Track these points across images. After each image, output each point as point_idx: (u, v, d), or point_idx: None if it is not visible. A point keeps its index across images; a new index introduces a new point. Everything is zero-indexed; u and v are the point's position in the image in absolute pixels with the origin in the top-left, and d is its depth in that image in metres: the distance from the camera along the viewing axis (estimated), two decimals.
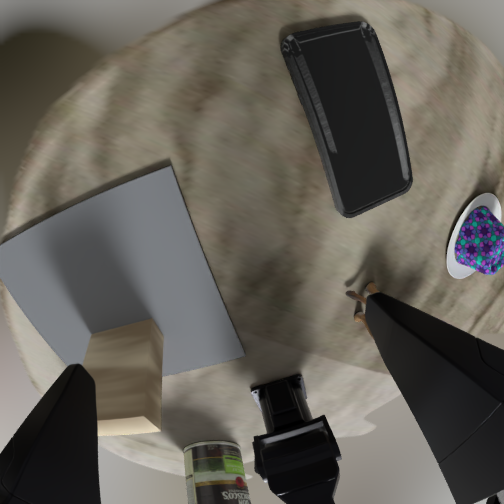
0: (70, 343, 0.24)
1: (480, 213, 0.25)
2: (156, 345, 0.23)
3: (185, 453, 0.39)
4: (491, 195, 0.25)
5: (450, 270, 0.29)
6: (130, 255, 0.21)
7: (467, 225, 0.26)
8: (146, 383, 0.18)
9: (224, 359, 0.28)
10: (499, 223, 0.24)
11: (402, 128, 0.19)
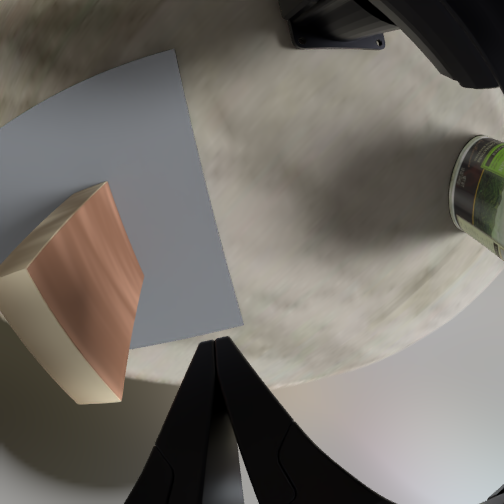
0: (137, 317, 0.20)
1: None
2: (75, 199, 0.13)
3: (463, 229, 0.21)
4: None
5: None
6: (3, 209, 0.14)
7: None
8: (19, 245, 0.09)
9: (174, 84, 0.13)
10: None
11: None
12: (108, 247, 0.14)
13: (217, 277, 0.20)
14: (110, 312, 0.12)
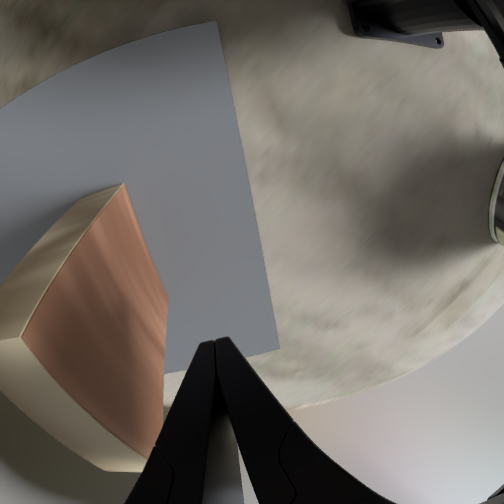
0: None
1: None
2: (84, 206, 0.10)
3: (500, 241, 0.19)
4: None
5: None
6: None
7: None
8: (8, 277, 0.06)
9: (216, 63, 0.10)
10: None
11: None
12: (130, 271, 0.11)
13: (256, 299, 0.17)
14: (139, 360, 0.09)
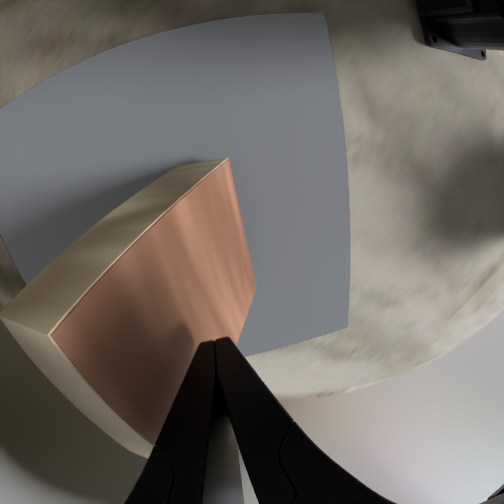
0: None
1: None
2: (177, 178, 0.10)
3: None
4: None
5: None
6: (55, 185, 0.12)
7: None
8: (69, 247, 0.07)
9: (325, 51, 0.11)
10: None
11: None
12: (216, 257, 0.10)
13: (337, 276, 0.17)
14: None
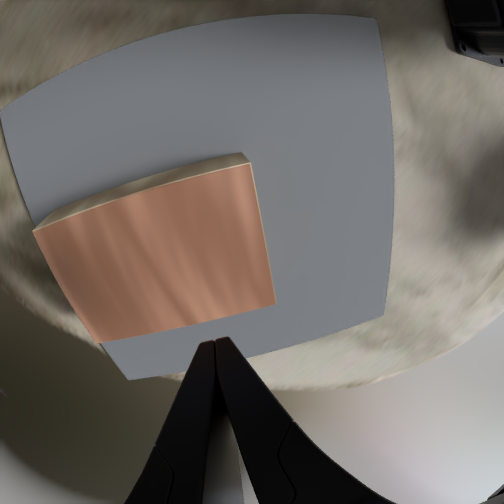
0: (282, 315, 0.18)
1: None
2: (192, 169, 0.11)
3: None
4: None
5: None
6: (105, 167, 0.12)
7: None
8: (97, 193, 0.12)
9: (377, 54, 0.11)
10: None
11: None
12: (181, 248, 0.12)
13: (380, 264, 0.17)
14: (134, 300, 0.12)
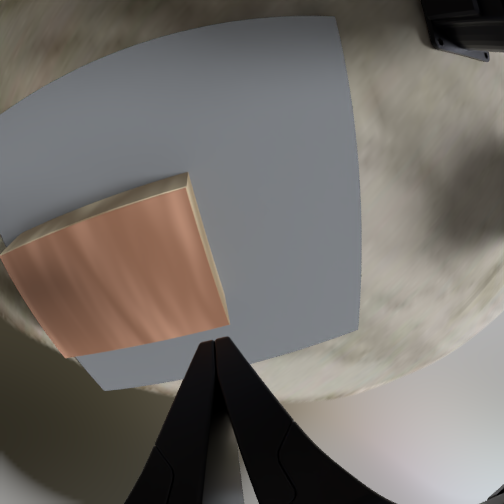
0: (246, 331, 0.18)
1: None
2: (135, 193, 0.11)
3: None
4: None
5: None
6: (62, 192, 0.11)
7: None
8: (57, 217, 0.12)
9: (336, 55, 0.11)
10: None
11: None
12: (128, 272, 0.11)
13: (349, 279, 0.17)
14: (92, 319, 0.12)
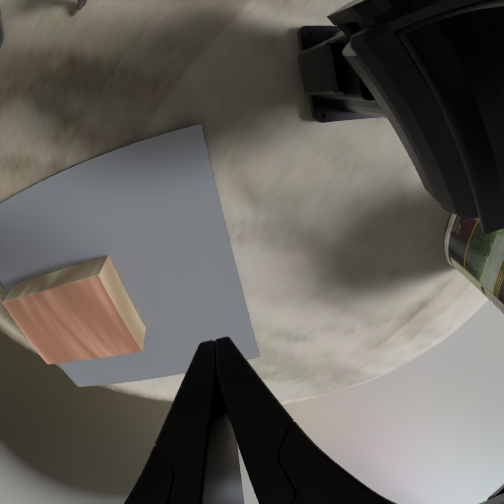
0: (167, 352, 0.23)
1: None
2: (77, 271, 0.17)
3: (456, 268, 0.24)
4: None
5: None
6: (37, 263, 0.17)
7: None
8: (36, 277, 0.17)
9: (203, 160, 0.16)
10: None
11: None
12: (76, 318, 0.17)
13: (239, 321, 0.23)
14: (61, 342, 0.18)
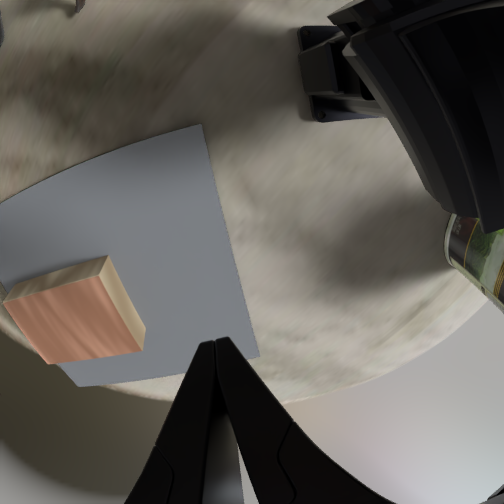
0: (167, 352, 0.23)
1: None
2: (77, 271, 0.17)
3: (456, 268, 0.24)
4: None
5: None
6: (37, 263, 0.17)
7: None
8: (36, 277, 0.17)
9: (203, 160, 0.16)
10: None
11: None
12: (77, 318, 0.17)
13: (239, 321, 0.23)
14: (61, 342, 0.18)
